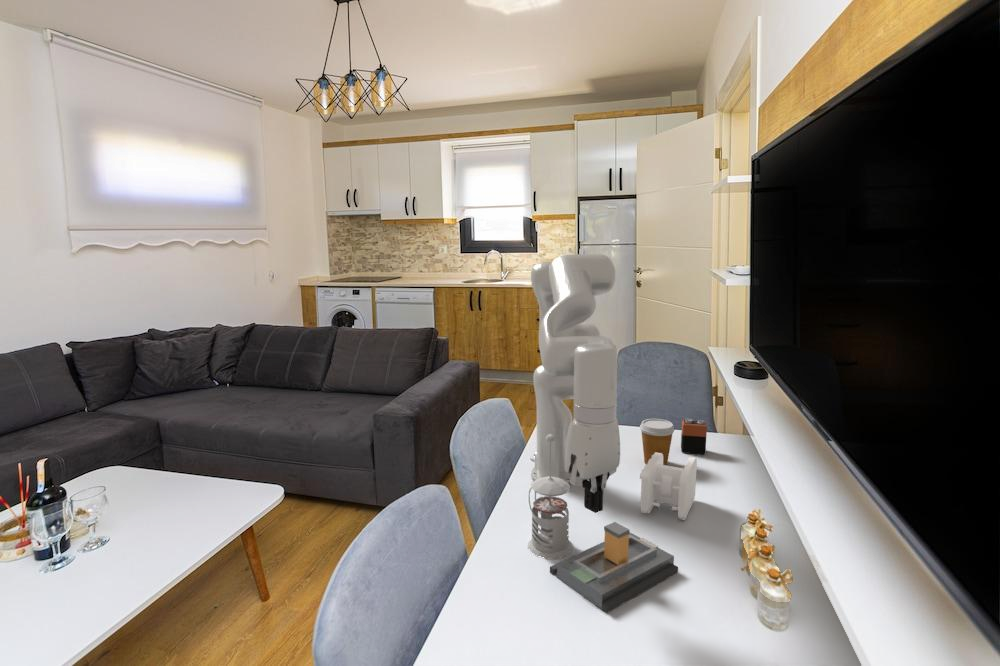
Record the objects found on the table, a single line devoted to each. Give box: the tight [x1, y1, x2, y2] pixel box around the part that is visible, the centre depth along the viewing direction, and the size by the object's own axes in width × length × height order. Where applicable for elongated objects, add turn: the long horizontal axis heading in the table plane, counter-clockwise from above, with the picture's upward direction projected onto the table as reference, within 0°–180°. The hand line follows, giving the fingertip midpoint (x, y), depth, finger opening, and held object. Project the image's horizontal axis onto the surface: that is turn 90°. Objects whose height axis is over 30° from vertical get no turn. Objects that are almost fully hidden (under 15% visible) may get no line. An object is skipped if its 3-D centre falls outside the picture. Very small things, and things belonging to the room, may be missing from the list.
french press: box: [527, 434, 574, 560], centre depth 121 cm, size 10×12×25 cm
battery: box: [680, 417, 708, 455], centre depth 172 cm, size 4×7×10 cm, turn 77°
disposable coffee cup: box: [639, 418, 676, 466], centre depth 163 cm, size 10×10×12 cm
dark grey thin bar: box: [601, 564, 679, 614], centre depth 107 cm, size 1×20×1 cm, turn 126°
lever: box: [603, 521, 631, 565], centre depth 111 cm, size 4×3×6 cm
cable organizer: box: [639, 452, 698, 521], centre depth 137 cm, size 15×11×12 cm
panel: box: [556, 532, 675, 611], centre depth 112 cm, size 12×20×4 cm, turn 126°
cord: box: [549, 563, 557, 576], centre depth 118 cm, size 1×20×1 cm, turn 126°
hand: (593, 508), depth 105 cm, fingers closed
